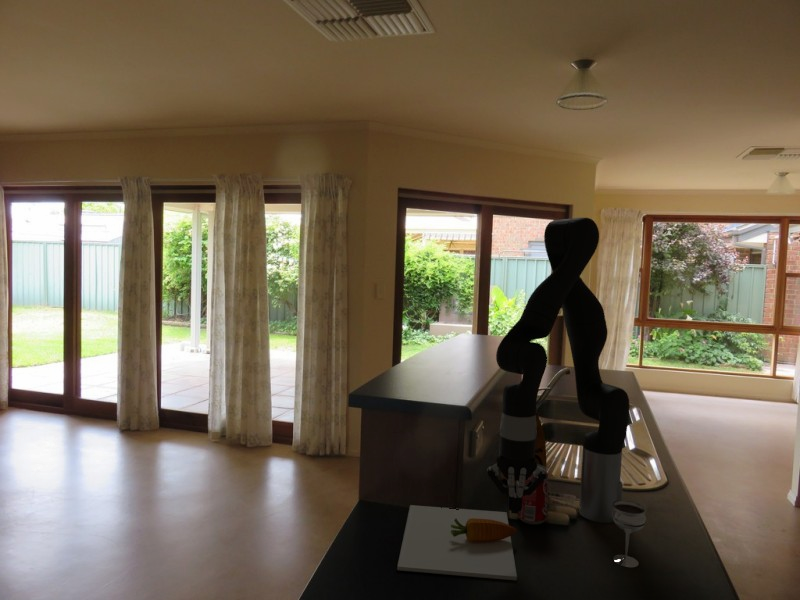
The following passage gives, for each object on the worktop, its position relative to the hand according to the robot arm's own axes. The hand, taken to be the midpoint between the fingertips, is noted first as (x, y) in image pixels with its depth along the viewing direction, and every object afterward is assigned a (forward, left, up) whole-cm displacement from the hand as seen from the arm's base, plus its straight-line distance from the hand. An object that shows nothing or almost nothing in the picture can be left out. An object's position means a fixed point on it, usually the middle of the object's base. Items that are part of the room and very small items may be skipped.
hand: (514, 511), depth 123 cm
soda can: (-6, -17, -10) cm, 20 cm away
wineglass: (-24, -1, -10) cm, 26 cm away
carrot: (-1, -5, -7) cm, 8 cm away
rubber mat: (+12, -4, -10) cm, 16 cm away
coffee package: (-6, -38, -10) cm, 40 cm away
